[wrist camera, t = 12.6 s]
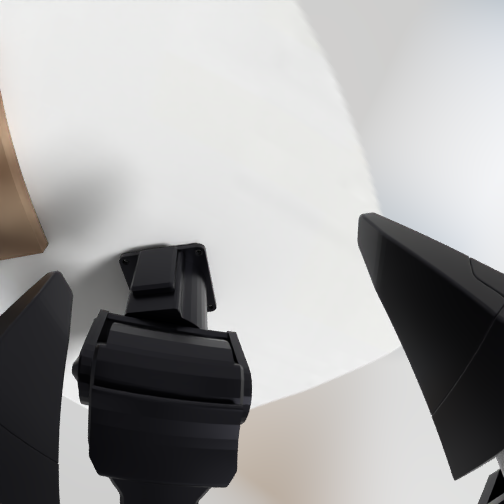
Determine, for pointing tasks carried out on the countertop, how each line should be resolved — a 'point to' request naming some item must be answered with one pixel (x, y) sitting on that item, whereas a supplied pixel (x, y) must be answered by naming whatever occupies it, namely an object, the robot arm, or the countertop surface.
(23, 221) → the mount
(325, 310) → the countertop surface
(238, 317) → the countertop surface
